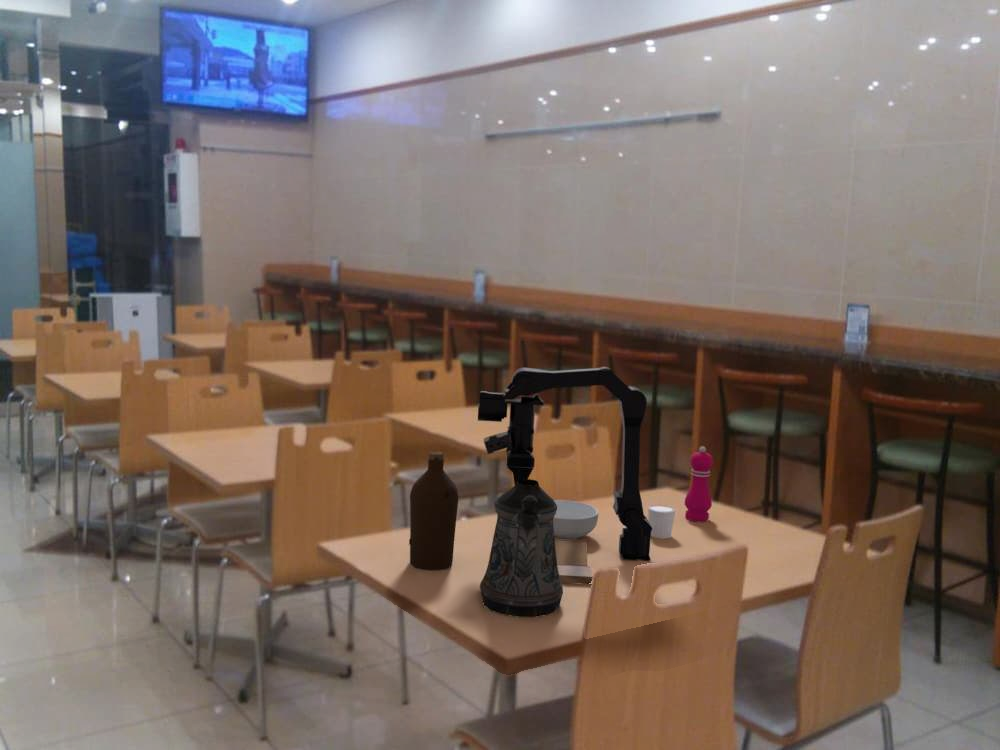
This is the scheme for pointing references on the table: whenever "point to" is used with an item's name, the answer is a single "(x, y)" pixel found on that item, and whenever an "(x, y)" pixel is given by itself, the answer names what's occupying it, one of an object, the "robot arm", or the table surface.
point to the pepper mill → (699, 487)
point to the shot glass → (661, 521)
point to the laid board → (575, 574)
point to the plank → (571, 552)
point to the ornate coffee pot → (523, 554)
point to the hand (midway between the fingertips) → (517, 489)
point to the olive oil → (433, 517)
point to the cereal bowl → (573, 519)
